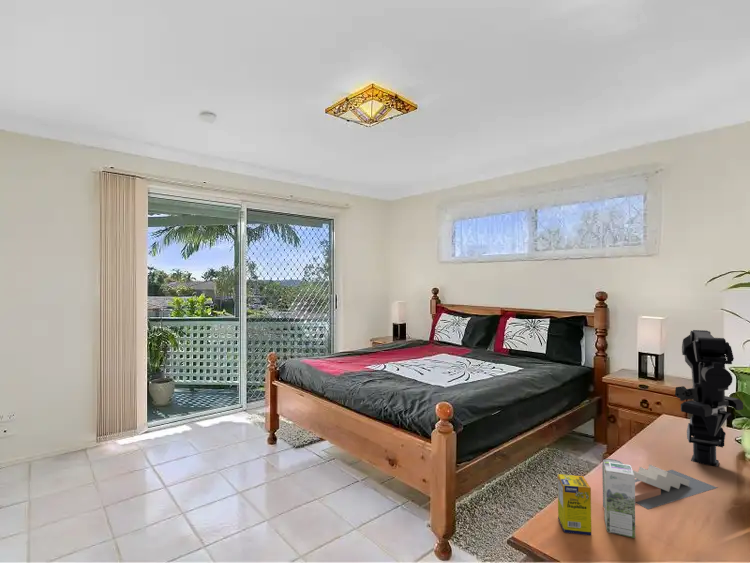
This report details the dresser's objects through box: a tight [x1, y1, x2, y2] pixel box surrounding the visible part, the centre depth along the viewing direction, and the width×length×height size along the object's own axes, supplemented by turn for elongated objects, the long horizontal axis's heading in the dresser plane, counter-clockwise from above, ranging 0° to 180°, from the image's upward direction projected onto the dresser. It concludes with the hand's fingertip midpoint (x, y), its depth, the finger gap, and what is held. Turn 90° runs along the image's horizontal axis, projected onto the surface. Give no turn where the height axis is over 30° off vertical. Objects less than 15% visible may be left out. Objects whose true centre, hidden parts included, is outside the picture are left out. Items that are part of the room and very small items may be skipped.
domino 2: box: [637, 466, 680, 489], centre depth 113 cm, size 2×5×10 cm
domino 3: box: [647, 464, 690, 486], centre depth 114 cm, size 2×5×10 cm
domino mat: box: [635, 469, 718, 510], centre depth 113 cm, size 28×12×1 cm, turn 112°
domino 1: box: [633, 470, 671, 492], centre depth 111 cm, size 2×5×10 cm
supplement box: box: [557, 473, 592, 536], centre depth 96 cm, size 6×6×11 cm
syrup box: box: [603, 461, 636, 539], centre depth 95 cm, size 6×6×14 cm
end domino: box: [635, 481, 661, 502], centre depth 110 cm, size 2×5×10 cm
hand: (712, 435), depth 118 cm, fingers closed
